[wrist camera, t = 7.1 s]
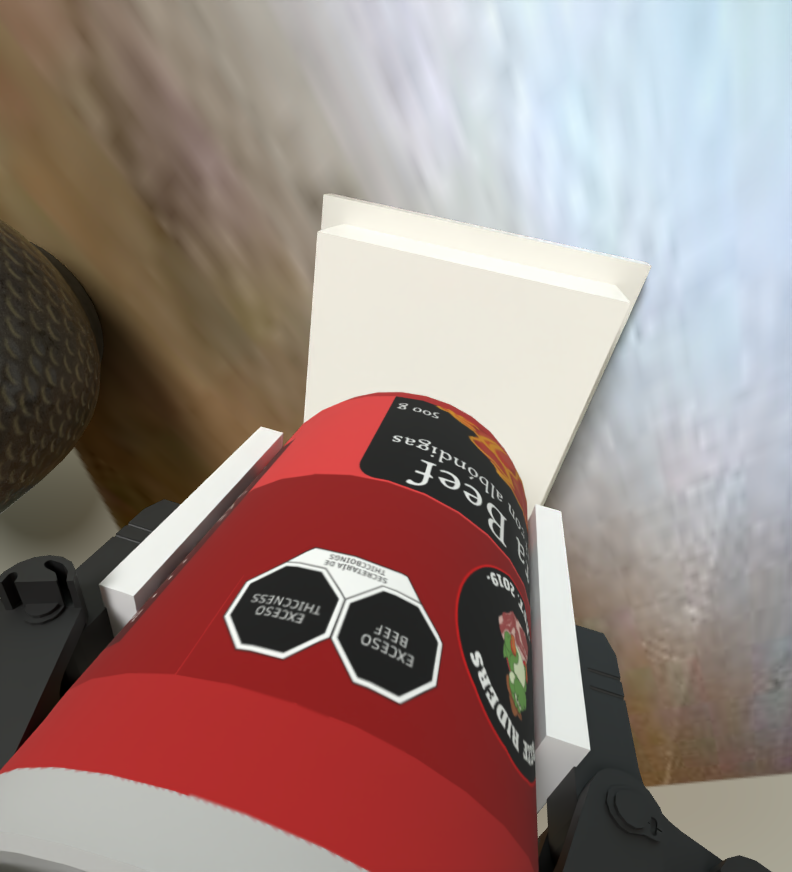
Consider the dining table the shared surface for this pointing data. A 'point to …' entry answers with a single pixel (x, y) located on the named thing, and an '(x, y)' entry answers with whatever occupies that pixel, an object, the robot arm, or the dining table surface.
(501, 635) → the canned food
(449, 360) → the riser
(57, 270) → the planter
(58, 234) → the dining table surface
